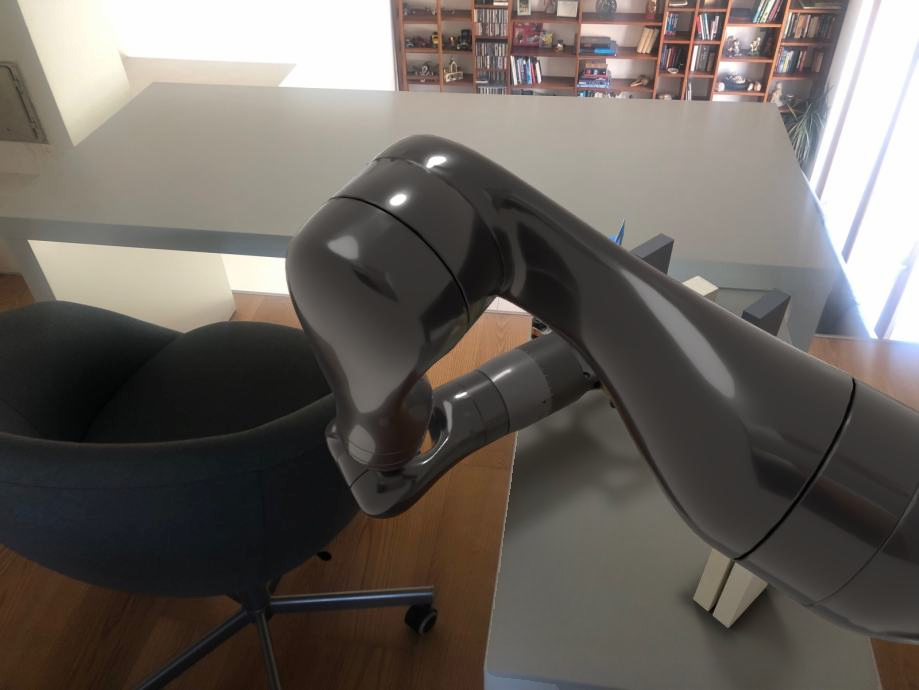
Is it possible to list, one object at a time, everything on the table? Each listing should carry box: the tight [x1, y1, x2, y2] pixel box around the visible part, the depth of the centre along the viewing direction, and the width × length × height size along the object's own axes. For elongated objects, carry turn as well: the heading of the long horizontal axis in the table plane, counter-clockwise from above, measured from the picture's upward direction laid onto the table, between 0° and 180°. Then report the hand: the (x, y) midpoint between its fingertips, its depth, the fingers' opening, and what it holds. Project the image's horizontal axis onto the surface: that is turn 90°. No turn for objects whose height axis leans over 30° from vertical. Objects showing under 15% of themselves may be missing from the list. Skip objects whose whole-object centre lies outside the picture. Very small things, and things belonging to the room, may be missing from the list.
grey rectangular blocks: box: [628, 232, 792, 338], centre depth 81 cm, size 17×6×13 cm, turn 40°
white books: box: [692, 547, 768, 629], centre depth 58 cm, size 4×6×13 cm, turn 130°
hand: (644, 325), depth 75 cm, fingers open, 8 cm apart
